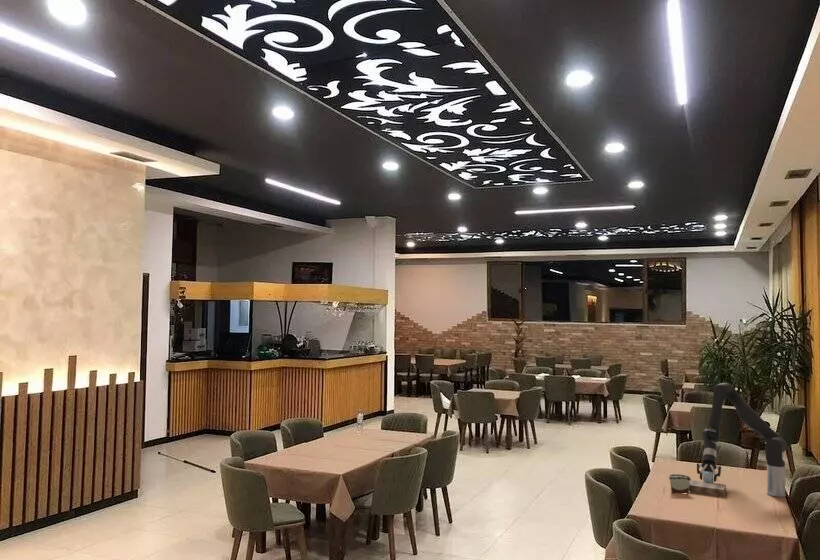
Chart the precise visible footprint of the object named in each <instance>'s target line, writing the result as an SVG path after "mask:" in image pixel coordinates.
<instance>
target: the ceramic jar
mask: <svg viewBox="0 0 820 560" xmlns="http://www.w3.org/2000/svg"><path fill="white" fill-rule="evenodd" d="M702 481H703V482H710V483H714V474H713V472H710V471H703V477H702Z"/></svg>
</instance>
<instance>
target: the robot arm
mask: <svg viewBox="0 0 820 560" xmlns="http://www.w3.org/2000/svg"><path fill="white" fill-rule="evenodd" d="M712 392H713V394H712V403H711V405H712V406H711V412H710V415H709V418H708V424H707V425H708V426H709V427H710V428H712V429H709V428H704V429H703V430H702V432H701V436H702V440H703V452H702V463H701V464H699V462H697V463H696V473H697V474H698V475H699V480H700V481H703V471H710V472H713V483H716V482H717V478H718V477H721V473H722V466H721V465H719V466H717V443H718V442H720V440H721V424H722V421H723V404H724V401H725V400H726V399H727V400H729V402H730V403H731V404H732V405H733V406H734V408H735V411H736V413H737V416H738V417H739V418H740V420H741V421H742V422H743V423H744V424H745V425H746V426H747V427H748V428H750V429H751V430H752V431H754V432H756V433H757V434H758V435H760V436H761V437H762V438H763V439H764V440H765V444H764V445H765V446H764V447H765V448H764V449H765V450H764V451H765V460H766V469H767V470H766V484H767V485H766V493H767V495H769V496H771V497H778V498H786V462H785V461H784V459H783V453H784V452H786V450H787V449H788V444H787V442H786V440H785V439H784V438H783V437H781V435H779V434H778V433H777V432H776V431H774V429H772V428H771V427H770V425H769V424H767V423H766V422H765V420H764V419H763V418H762V417H761V415H759V414H758V413H757V412H756V411H755V410H754V408H752V407H751V406H750V404H748V403H747V401H745V399H744V398H743V397H742V396H741V395H740V394H739V393H738V391H737V390H736V388H734V386H733V385H732V384H731V383H729V382H721V383H718V384H716V385H714V389H713V391H712ZM700 469H701V470H700ZM716 470H717V472H716Z"/></svg>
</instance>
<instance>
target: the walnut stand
mask: <svg viewBox="0 0 820 560" xmlns="http://www.w3.org/2000/svg"><path fill="white" fill-rule="evenodd" d="M689 491H690V492H689V493H693V492H696V493H695V494H700V493H701V495H708V496H713V497H714V496H715V497H720V496H721V497H722V498H725V497H726V492H727V485H726V484H725V483H717V482H713V483H710V482H703V480H694V479H691V481H690V484H689ZM724 496H725V497H724Z"/></svg>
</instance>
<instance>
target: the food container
mask: <svg viewBox="0 0 820 560" xmlns="http://www.w3.org/2000/svg"><path fill="white" fill-rule="evenodd" d="M668 480H669V481H670V482H669V483H670V490H671V491H670V492H671V494H672V493H687V494H686V495H689V493H690V492H689V484H690V481H691V480H692V479H691V476H689V475H686V474H681V473H680V474H679V473H678V474H675V473H673V474H670V475H669V476H668Z"/></svg>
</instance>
